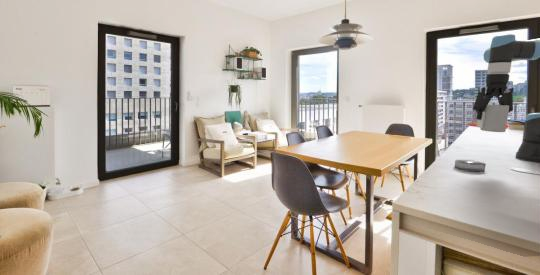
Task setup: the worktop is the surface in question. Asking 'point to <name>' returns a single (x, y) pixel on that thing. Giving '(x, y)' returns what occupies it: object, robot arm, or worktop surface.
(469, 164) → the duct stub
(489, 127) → the mug
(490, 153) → the worktop surface
